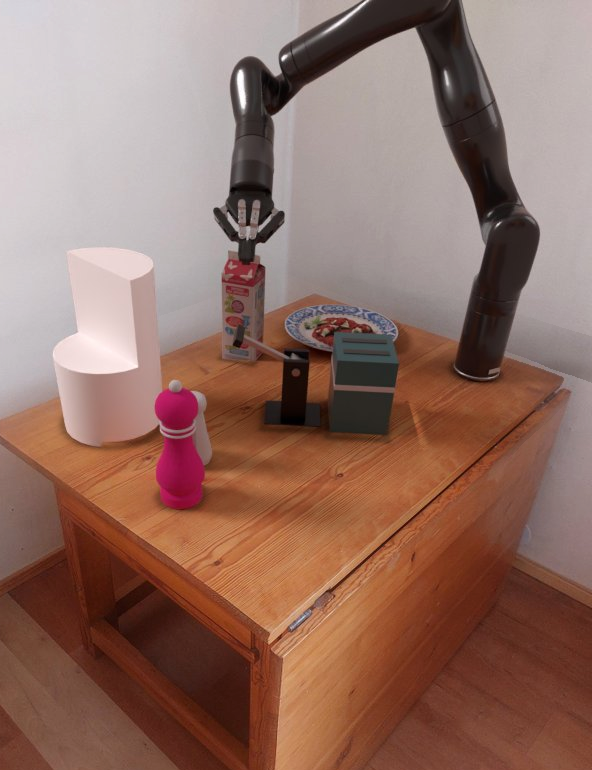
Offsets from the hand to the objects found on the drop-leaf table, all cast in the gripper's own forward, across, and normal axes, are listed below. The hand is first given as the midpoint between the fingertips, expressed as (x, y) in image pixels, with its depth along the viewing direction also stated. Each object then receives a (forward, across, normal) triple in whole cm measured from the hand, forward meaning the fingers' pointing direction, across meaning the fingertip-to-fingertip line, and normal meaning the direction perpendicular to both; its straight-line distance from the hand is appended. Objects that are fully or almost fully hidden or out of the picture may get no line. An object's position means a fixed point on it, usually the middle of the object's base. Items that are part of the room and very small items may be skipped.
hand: (246, 263), depth 109 cm
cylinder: (+27, -22, +9) cm, 36 cm away
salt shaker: (+35, -6, +1) cm, 36 cm away
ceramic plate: (-2, +20, +38) cm, 43 cm away
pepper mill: (+41, -7, -5) cm, 42 cm away
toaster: (+24, +21, +12) cm, 34 cm away
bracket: (+24, +10, +12) cm, 28 cm away
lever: (+15, +4, +3) cm, 16 cm away
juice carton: (+7, -2, +29) cm, 30 cm away
